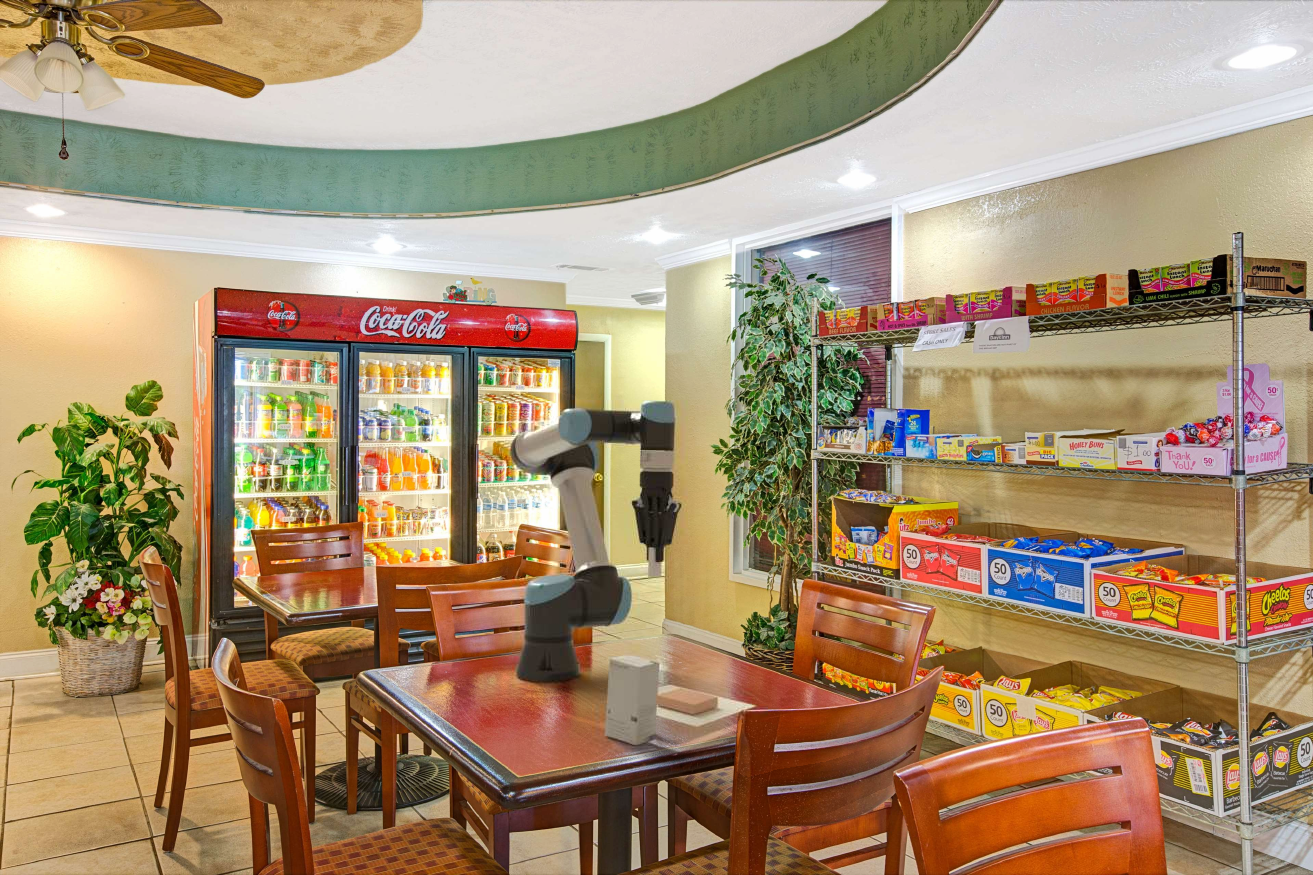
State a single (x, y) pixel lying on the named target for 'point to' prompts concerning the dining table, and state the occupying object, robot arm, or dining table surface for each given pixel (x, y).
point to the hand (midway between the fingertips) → (654, 576)
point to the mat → (723, 710)
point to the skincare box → (632, 699)
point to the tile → (687, 701)
